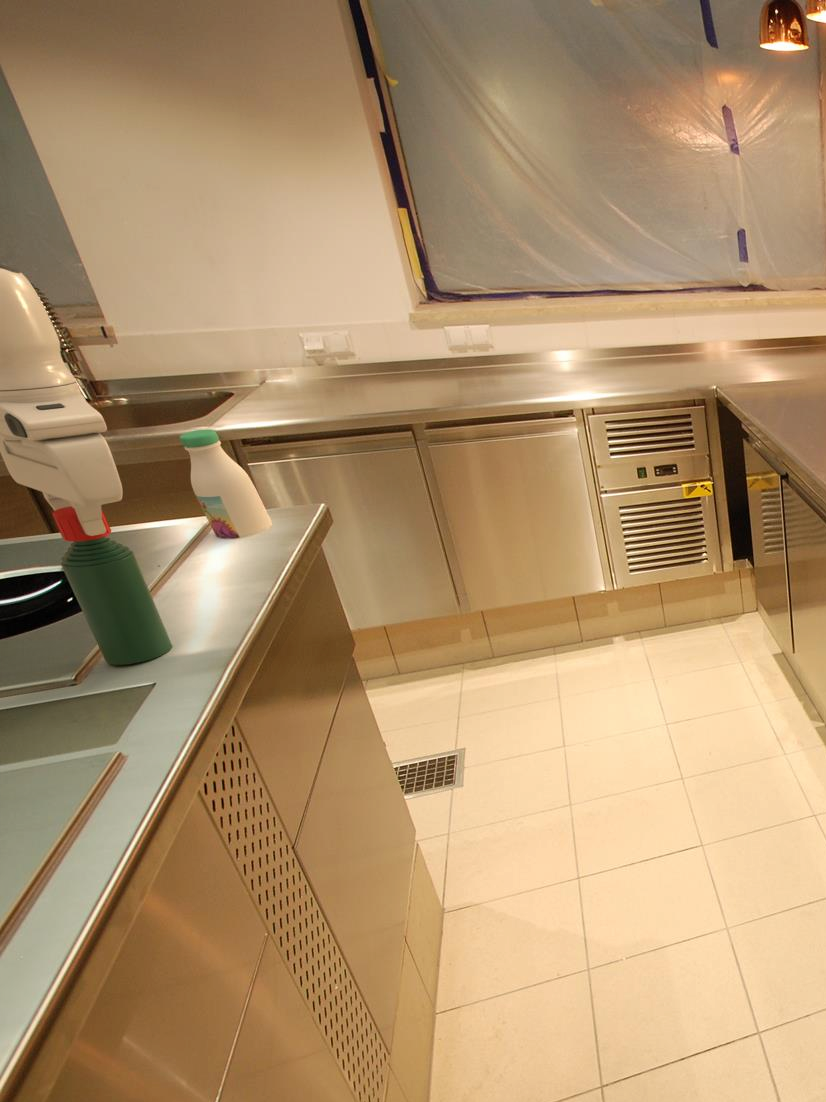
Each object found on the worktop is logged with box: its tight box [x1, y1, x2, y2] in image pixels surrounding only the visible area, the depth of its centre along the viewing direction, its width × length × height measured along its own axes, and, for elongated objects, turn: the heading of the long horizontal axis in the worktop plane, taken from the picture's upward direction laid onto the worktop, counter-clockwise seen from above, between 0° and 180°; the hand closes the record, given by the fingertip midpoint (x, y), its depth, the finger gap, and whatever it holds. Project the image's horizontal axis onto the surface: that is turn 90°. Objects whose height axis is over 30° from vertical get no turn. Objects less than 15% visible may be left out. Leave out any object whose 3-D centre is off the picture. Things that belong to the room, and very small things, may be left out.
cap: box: [51, 506, 112, 543], centre depth 99 cm, size 4×4×3 cm
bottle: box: [60, 536, 173, 666], centre depth 103 cm, size 6×6×18 cm
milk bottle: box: [179, 429, 273, 540], centre depth 137 cm, size 8×8×20 cm
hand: (85, 530), depth 100 cm, fingers closed on cap, 4 cm apart
